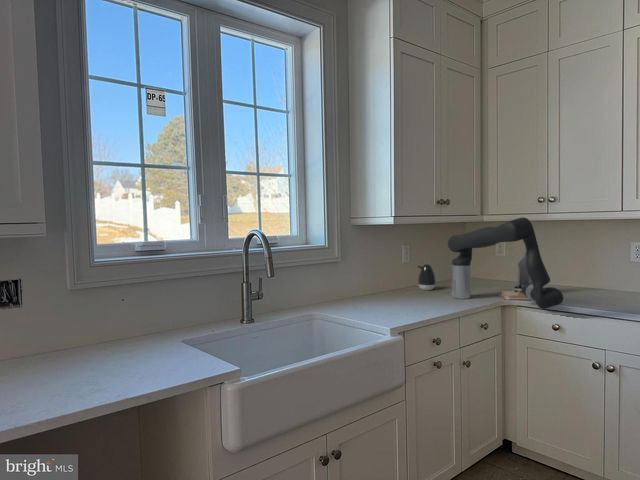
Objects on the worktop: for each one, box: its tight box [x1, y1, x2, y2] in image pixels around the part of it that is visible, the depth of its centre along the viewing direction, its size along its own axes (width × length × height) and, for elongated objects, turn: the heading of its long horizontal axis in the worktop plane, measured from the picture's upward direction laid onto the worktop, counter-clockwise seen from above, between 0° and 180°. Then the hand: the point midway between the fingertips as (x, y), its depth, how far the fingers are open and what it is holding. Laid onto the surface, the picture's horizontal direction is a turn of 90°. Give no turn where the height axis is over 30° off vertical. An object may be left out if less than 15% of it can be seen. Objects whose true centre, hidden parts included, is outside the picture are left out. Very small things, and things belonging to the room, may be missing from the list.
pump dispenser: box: [417, 263, 437, 291], centre depth 257 cm, size 10×10×15 cm
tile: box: [500, 290, 529, 299], centre depth 226 cm, size 10×2×14 cm
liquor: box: [517, 245, 532, 286], centre depth 237 cm, size 9×9×30 cm
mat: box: [497, 294, 530, 301], centre depth 226 cm, size 14×12×1 cm
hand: (521, 286), depth 215 cm, fingers closed
